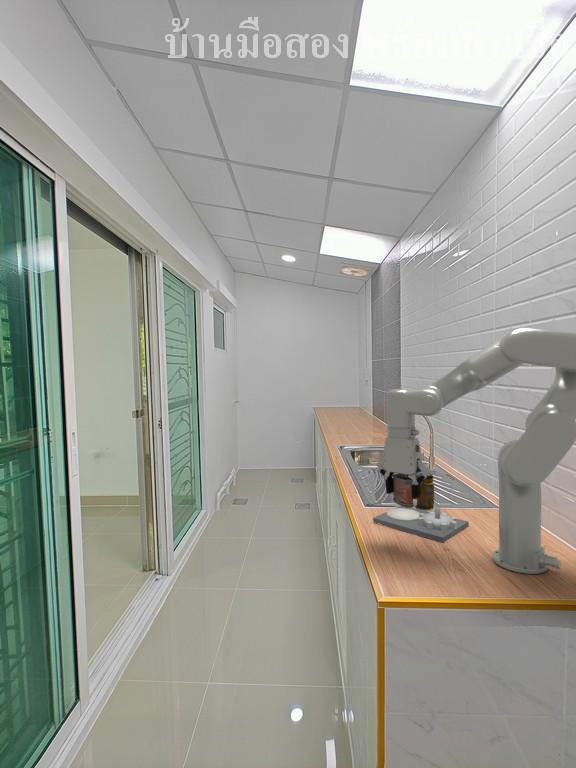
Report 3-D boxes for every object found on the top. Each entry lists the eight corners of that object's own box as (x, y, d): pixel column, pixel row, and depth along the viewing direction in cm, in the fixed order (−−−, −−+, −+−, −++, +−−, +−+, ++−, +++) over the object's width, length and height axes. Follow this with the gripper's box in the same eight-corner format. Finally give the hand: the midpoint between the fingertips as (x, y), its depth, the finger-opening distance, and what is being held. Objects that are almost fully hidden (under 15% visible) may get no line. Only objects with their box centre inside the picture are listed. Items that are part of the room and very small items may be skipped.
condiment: (433, 504, 157) (433, 472, 157) (437, 511, 149) (437, 478, 149) (413, 503, 159) (413, 471, 158) (416, 510, 150) (416, 477, 150)
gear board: (468, 526, 135) (468, 506, 134) (443, 542, 122) (442, 520, 122) (401, 509, 152) (401, 491, 152) (373, 522, 139) (372, 502, 139)
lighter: (416, 507, 115) (415, 470, 115) (405, 508, 114) (404, 472, 114) (400, 499, 123) (399, 465, 123) (390, 500, 122) (389, 466, 122)
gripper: (436, 433, 115) (438, 498, 115) (382, 429, 127) (383, 487, 128) (423, 437, 110) (425, 504, 110) (367, 432, 122) (369, 492, 122)
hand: (402, 494), depth 119 cm, fingers closed on lighter, 7 cm apart
